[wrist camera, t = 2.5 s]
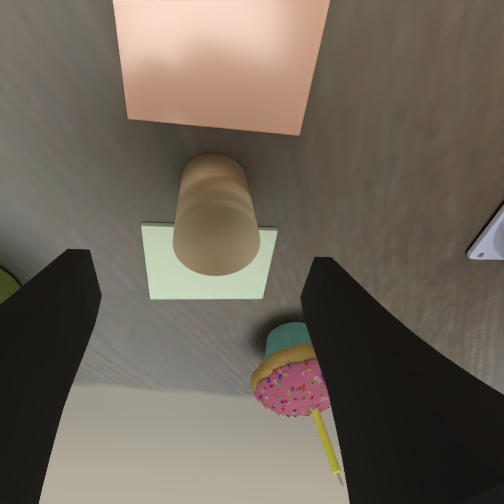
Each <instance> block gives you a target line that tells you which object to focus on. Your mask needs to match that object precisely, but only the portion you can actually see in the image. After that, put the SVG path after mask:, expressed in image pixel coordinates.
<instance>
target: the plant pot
mask: <svg viewBox="0 0 504 504" xmlns="http://www.w3.org/2000/svg"><path fill="white" fill-rule="evenodd" d="M20 288H21V287H20V286H19V284H18V283H17V282H16V281H15V280H14V279H13V278H12V277H11V276H10V275H9V274H8V273H6V272H5V271H4V270H2V269H1V268H0V304H1V303H2V302H4V301H5V300H6V299H7V298H9V297H10V296H11V295H12V294H14V293H15V292H16V291H17V290H19V289H20Z"/></svg>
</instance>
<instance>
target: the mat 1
mask: <svg viewBox="0 0 504 504" xmlns="http://www.w3.org/2000/svg"><path fill="white" fill-rule="evenodd" d="M329 3H330V0H113V4H114V12H115V20H116V28H117V36H118V44H119V52H120V60H121V68H122V76H123V84H124V92H125V100H126V108H127V116H128V119H134V120H144V121H155V122H165V123H175V124H185V125H196V126H206V127H216V128H226V129H237V130H247V131H257V132H267V133H278V134H288V135H298V136H299V135H300V131H301V126H302V122H303V118H304V113H305V109H306V104H307V100H308V96H309V91H310V87H311V82H312V78H313V73H314V69H315V65H316V60H317V56H318V51H319V47H320V43H321V38H322V34H323V29H324V25H325V21H326V16H327V12H328V7H329Z"/></svg>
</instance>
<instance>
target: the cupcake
mask: <svg viewBox="0 0 504 504" xmlns="http://www.w3.org/2000/svg"><path fill="white" fill-rule="evenodd" d="M251 385H252V391H253V393H254V395H255V397H256V398H257V401H258V400H259V401H258V402H261V404H262V405H264V406H265V408H266V409H267V408H269V409H271V410H272V411H274V412H276V413H277V414H279V415H280V414H283V415H286V416H288V417H289V416H295V417H296V416H300V415H302V416H305V415H306V416H308V415H310V414H313V417H314V420H315V423H316V426H317V429H318V432H319V435H320V438H321V441H322V444H323V446H324V449H325V452H326V455H327V458H328V461H329V464H330V467H331V470H332V473H333V474H335V473H336V474H337V477H338V479H339V482H340V484H341V486H344V484H343V482H342V480H341V477H340V475H339V472H341V469H340V466H339V464H338V461H337V458H336V455H335V453H334V450H333V447H332V444H331V442H330V439H329V436H328V433H327V431H326V428H325V425H324V422H323V420H322V417H321V414H320V413H321V412H322V411H324V410H326V409H327V408H329V406H331V404H330V399H329V395H328V392H327V388H326V385H325V381H324V378H323V375H322V372H321V369H320V366H319V363H318V360H317V357H316V354H315V351H314V348H313V345H312V342H311V339H310V336H309V333H308V330H307V327H306V324H305V323H303V322H290V323H285V324H282V325H280V326H278V327H276V328H275V329H273V330H272V331H271V332H270V334H269V335H268V338H267V344H266V351H265V356H264V360H263V362H262V363H261V364H260V365H259V367H258V369H257V370H256V371H254V372H253V374H252V379H251ZM320 411H321V412H320Z"/></svg>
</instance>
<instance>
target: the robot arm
mask: <svg viewBox="0 0 504 504" xmlns="http://www.w3.org/2000/svg"><path fill="white" fill-rule="evenodd" d="M467 256H468V257H469V258H470V259H486V260H504V205H503V206H502V207H501V209H500V210H499V211H498V213H497V214H496V215H495V217H494V218H493V219H492V221H491V222H490V223H489V225H488V226H487V227H486V229H485V230H484V231H483V232H482V234H481V235H480V236H479V238H478V239H477V240H476V242H475V243H474V244H473V246H472V247H471V248H470V250H469V251H468V252H467ZM101 297H102V295H101V291H100V287H99V283H98V280H97V276H96V272H95V268H94V264H93V261H92V257H91V253H90V250H85V249H67V250H66V251H65V252H63V253H62V254H61V255H60V256H58V257H57V258H56V259H55V260H54V261H52V262H51V263H50V264H49V265H48V266H46V267H45V268H44V269H43V270H42V271H40V272H39V273H38V274H37V275H36V276H35V277H33V278H32V279H31V280H30V281H28V282H27V283H26V284H25V285H24V286H22V287H21V288H20V289H19V290H17V291H16V292H15V293H14V294H12V295H11V296H10V297H9V298H7V299H6V300H5V301H4V302H2V303H1V304H0V504H39V500H40V496H41V491H42V487H43V483H44V479H45V475H46V471H47V467H48V463H49V459H50V455H51V451H52V448H53V444H54V440H55V437H56V433H57V429H58V426H59V422H60V418H61V415H62V411H63V408H64V405H65V402H66V400H67V397H68V394H69V391H70V388H71V386H72V383H73V381H74V378H75V376H76V373H77V371H78V368H79V365H80V363H81V360H82V358H83V355H84V352H85V350H86V347H87V345H88V342H89V339H90V337H91V334H92V331H93V329H94V326H95V322H96V318H97V314H98V310H99V306H100V301H101ZM300 298H301V303H302V309H303V314H304V319H305V324H306V327H307V330H308V333H309V336H310V339H311V342H312V345H313V348H314V351H315V354H316V357H317V360H318V363H319V366H320V369H321V372H322V375H323V378H324V381H325V385H326V388H327V392H328V395H329V399H330V404H331V408H332V412H333V417H334V421H335V426H336V430H337V436H338V440H339V445H340V450H341V455H342V461H343V466H344V472H345V478H346V483H347V489H348V494H349V502H350V504H504V395H503V394H502V393H500V392H498V391H497V390H495V389H493V388H492V387H490V386H489V385H487V384H485V383H484V382H482V381H481V380H479V379H477V378H476V377H474V376H473V375H471V374H470V373H468V372H467V371H465V370H464V369H462V368H461V367H459V366H458V365H456V364H455V363H453V362H452V361H451V360H449V359H448V358H446V357H445V356H443V355H442V354H441V353H439V352H438V351H437V350H435V349H434V348H433V347H431V346H430V345H429V344H427V343H426V342H425V341H423V340H422V339H421V338H419V337H418V336H417V335H416V334H414V333H413V332H412V331H411V330H409V329H408V328H407V327H406V326H405V325H403V324H402V323H401V322H400V321H399V320H398V319H396V318H395V317H394V316H393V315H392V314H391V313H389V312H388V311H387V310H386V309H385V308H384V307H383V306H382V305H381V304H380V303H378V302H377V301H376V300H375V299H374V298H373V297H372V296H371V295H370V294H369V293H368V292H367V291H366V290H365V289H364V288H363V287H362V286H361V285H360V284H359V283H358V282H357V281H356V280H354V279H353V278H352V277H351V276H350V275H349V274H348V273H347V272H346V271H345V270H344V269H343V268H342V267H341V266H340V265H339V264H338V263H337V262H336V261H335V260H334V259H333V258H332V257H314V260H313V263H312V266H311V268H310V271H309V274H308V277H307V280H306V282H305V285H304V288H303V291H302V294H301V296H300Z"/></svg>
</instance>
